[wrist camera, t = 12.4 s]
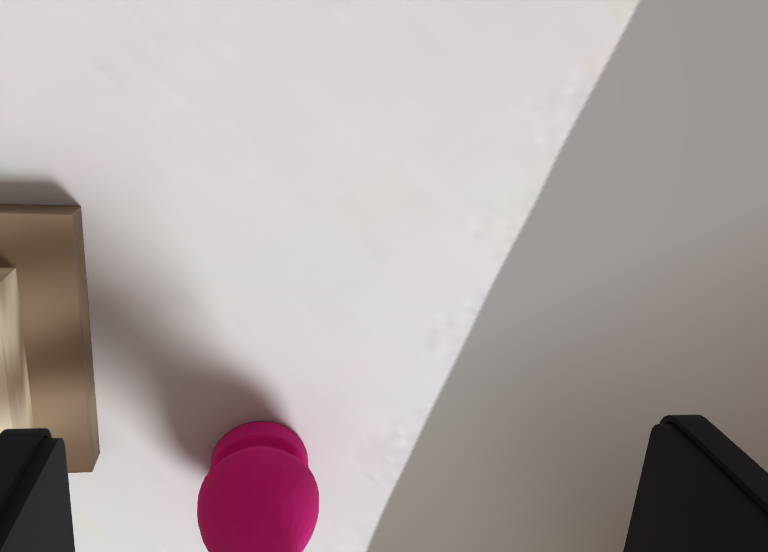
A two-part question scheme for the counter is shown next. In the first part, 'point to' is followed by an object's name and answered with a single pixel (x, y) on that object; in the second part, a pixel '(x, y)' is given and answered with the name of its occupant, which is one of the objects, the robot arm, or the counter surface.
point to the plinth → (47, 329)
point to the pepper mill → (258, 492)
